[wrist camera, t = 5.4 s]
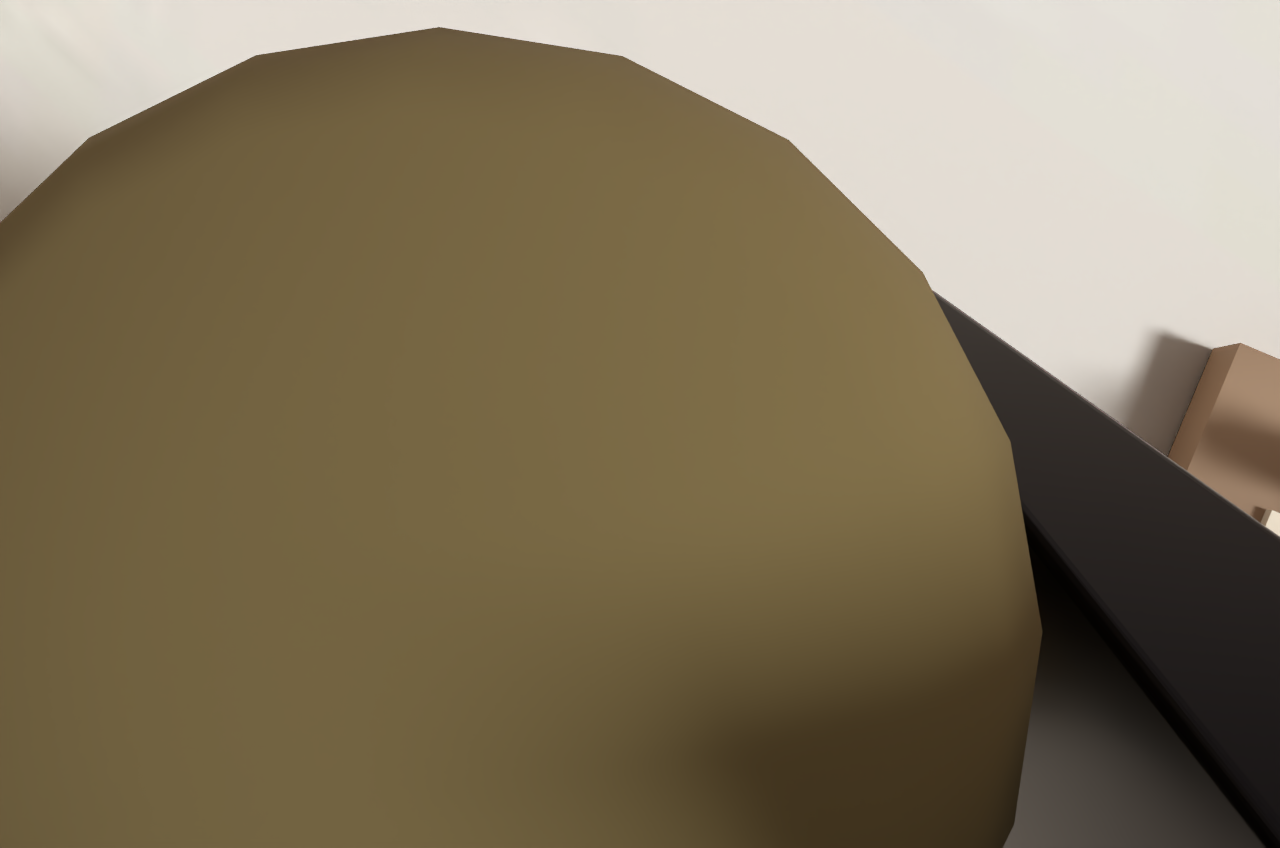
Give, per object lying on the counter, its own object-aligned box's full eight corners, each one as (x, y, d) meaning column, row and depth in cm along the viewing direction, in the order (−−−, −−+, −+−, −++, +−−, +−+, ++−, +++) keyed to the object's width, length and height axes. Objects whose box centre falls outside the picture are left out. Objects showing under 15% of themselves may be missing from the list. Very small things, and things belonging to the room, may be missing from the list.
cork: (735, 837, 14) (983, 1937, 4) (283, 681, 15) (-826, 1258, 4) (884, 380, 15) (1539, 76, 4) (437, 234, 15) (-168, -465, 4)
